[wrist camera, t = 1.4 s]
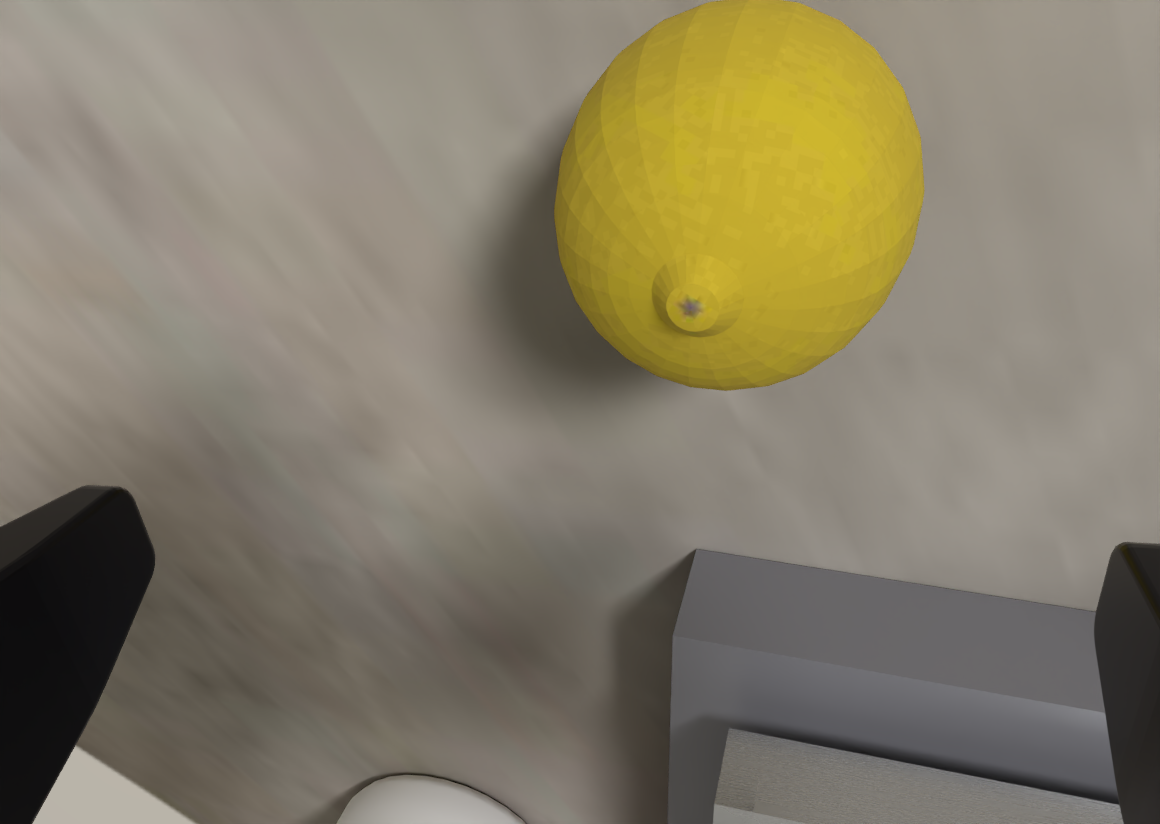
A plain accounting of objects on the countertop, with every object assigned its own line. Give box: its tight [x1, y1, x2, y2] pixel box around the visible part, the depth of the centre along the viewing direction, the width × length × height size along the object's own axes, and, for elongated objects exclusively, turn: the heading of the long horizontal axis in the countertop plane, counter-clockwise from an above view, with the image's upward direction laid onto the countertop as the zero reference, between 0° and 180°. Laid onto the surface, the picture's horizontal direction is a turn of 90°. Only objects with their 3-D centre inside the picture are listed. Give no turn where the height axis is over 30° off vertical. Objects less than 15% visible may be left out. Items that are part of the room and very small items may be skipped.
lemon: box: [554, 0, 924, 391], centre depth 16 cm, size 6×6×8 cm
